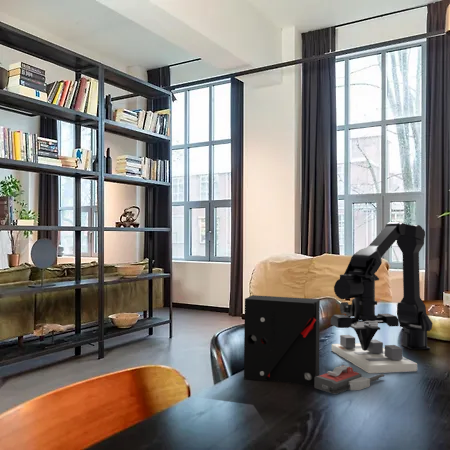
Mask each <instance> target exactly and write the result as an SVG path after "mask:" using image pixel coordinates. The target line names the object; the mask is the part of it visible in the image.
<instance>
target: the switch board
mask: <svg viewBox="0 0 450 450" xmlns="http://www.w3.org/2000/svg"><path fill="white" fill-rule="evenodd" d="M331 351H332V352H333V353H335V354H337V355H338V356H340V357H341V358H343V359H345V360H347V361H348V362H350V363H351V364H353V365H354V366H356V367H358V368H360V369H361V370H363V371H364V372H366V373H368V374H384V373H385V374H386V373H403V372H407V373H408V372H417V371H418V363H417V362H414V361H413V360H410V359H408V358H406V357H404V356H402V359H401V360H392V359H390V358H388V357H386V356H385V347H383V353H371V352H369V351H367V350H366V351H364V350H362V347H361V344H360V342H355V348H345V347H343V346H341V345H340V343H332V344H331Z"/></svg>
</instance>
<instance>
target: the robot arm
mask: <svg viewBox="0 0 450 450" xmlns="http://www.w3.org/2000/svg"><path fill="white" fill-rule="evenodd" d="M425 237H426V231H425V229H424V228H423V227H422V225H419V224H413V225H412V224H406V223H404V222H400V221H398V222H397V221H396V222H393V221H391V222H387V223H386V224H385V226H384V228H383V229H382V230H381V231H380V233H379V234H378V235H377V236H376V237H375V239H373V241H372V242H371V243H370V244H369V245H368V246H366V247H364V248H361V249H359V250H358V251H356V252H355V253H353V254H352V256H351V257H350V260H349V263H348V265H347V267H346V269H345V271H344V273H343V274H339V279H336V281H335V283H334V285H333V292H334V294H335V296H336V297H337V298H338V299H341V300H348V299H351V304H349V301H348V302H346V301H344V302H340V303H339V304H340V308H339V311H340V314H333V315H332V316H331V318H330V325H332V326H333V327H336V328H338V329H347V328H348V329H349V328H351V329H353V330H354V332H355V334H356V336H357V339H358V340H359V343H360V344H361V347H362V350H364V351H366V350H367V348H368V346H369V344H370V342H371V340H373V339H374V337H375V335H376V333H377V332H378V331H380V330H381V327H379V324H386V325H387V326H388V327H400V328H404V329H403V330H404V331H403V333H402V343H400V344H401V346H403V347H405V348H407V349H410V350H413V351H415V350H430V349H431V347H430V346H428V332H430V331H432V328H433V322H432V320H431V318H430V317H429V314H428V313H427V307H426V304H425V302H424V301H423V300H422V298H421V293H420V292H421V289H420V288H421V287H420V256H419V255H420V251H421V250H422V248H423V247H424V245H425ZM395 242H396V244H397V247H398V248H399V250H400V251H401V254H402V283H403V285H402V288H403V296H402V299H401V301H400V302H397V304H396V307H397V308H396V309H397V312H396V315H397V316H396V315H394V314H391V313H378V314H377V315H376V313H375V312H376V306H377V305H378V301H377V300H376V281H379V280H380V277H378V276H377V275H376V273H377V272H378V270H379V269H380V267H381V265H382V264H383V262H382V257H383V256H384V255H385V254H386V253H387V251H388V250H389V249H390V248H391V247H392V246H393V244H394V243H395ZM345 314H346V315H345Z"/></svg>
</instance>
